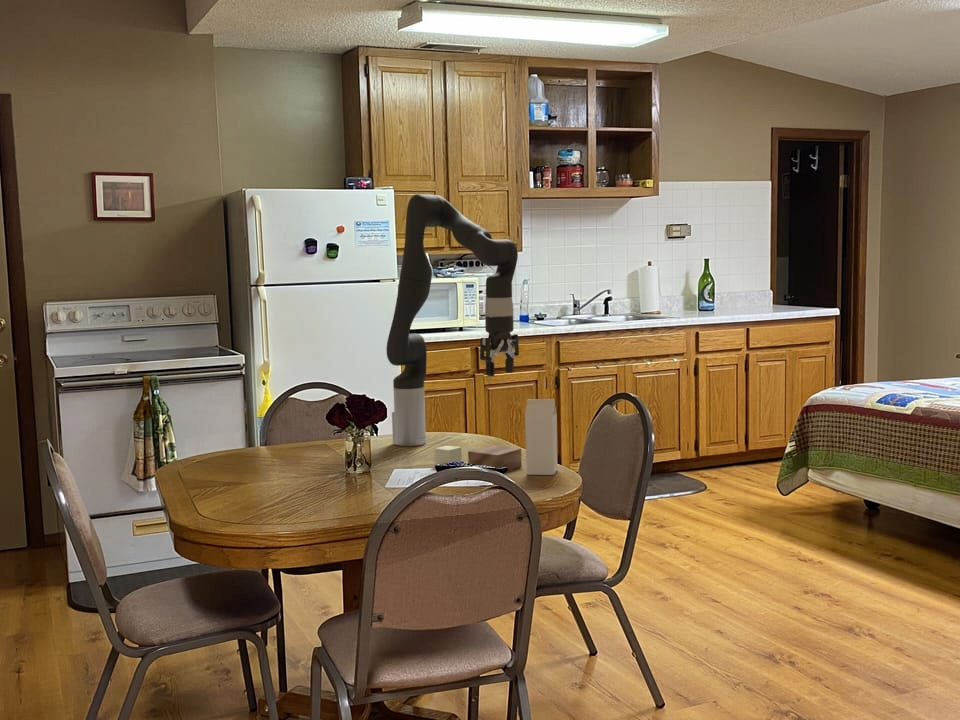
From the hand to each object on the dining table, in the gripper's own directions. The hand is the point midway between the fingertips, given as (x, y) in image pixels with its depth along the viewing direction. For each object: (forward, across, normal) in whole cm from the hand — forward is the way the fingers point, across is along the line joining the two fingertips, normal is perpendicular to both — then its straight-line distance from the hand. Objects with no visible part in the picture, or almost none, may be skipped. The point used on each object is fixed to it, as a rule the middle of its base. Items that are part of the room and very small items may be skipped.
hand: (500, 374), depth 271 cm
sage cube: (+24, +12, -9) cm, 28 cm away
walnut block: (+24, +7, +4) cm, 26 cm away
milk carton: (+24, +6, +18) cm, 30 cm away
